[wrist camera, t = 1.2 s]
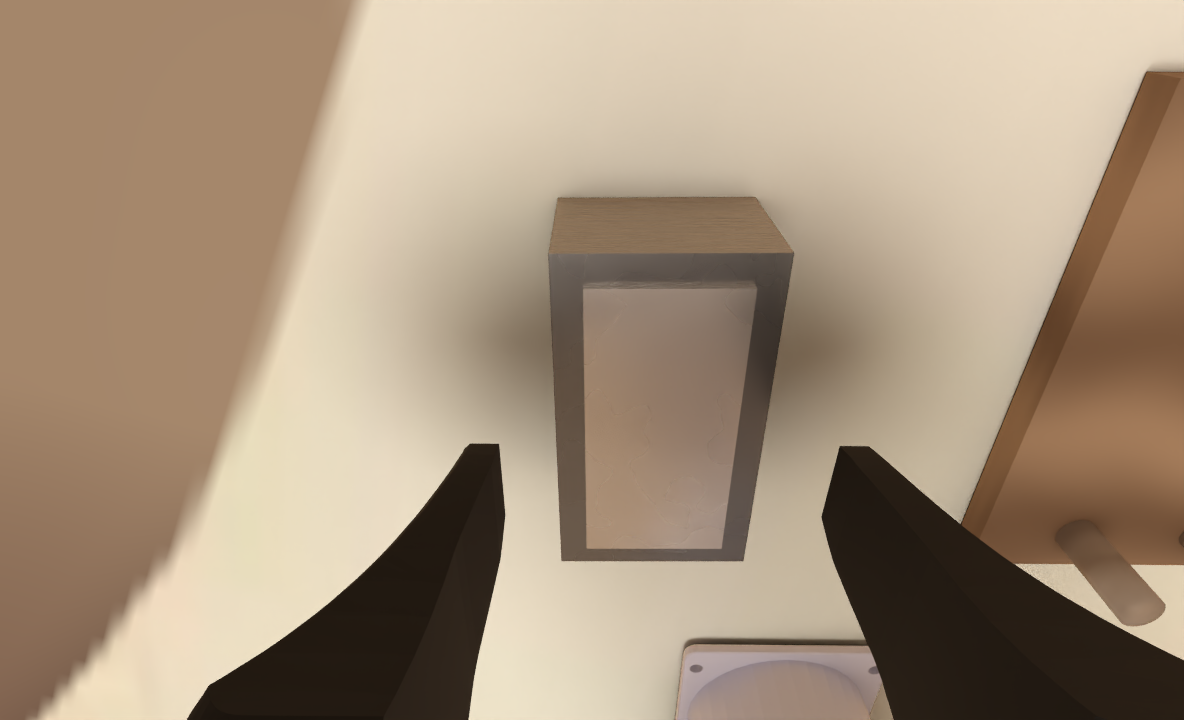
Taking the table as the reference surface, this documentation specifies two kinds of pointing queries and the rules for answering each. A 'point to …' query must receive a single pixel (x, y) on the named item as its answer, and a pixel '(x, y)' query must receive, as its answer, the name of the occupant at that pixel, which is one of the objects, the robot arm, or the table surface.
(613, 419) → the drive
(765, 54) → the table surface
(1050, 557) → the pegged wooden board
